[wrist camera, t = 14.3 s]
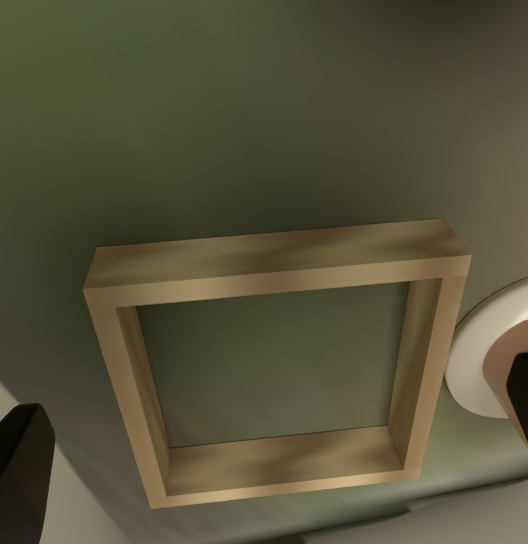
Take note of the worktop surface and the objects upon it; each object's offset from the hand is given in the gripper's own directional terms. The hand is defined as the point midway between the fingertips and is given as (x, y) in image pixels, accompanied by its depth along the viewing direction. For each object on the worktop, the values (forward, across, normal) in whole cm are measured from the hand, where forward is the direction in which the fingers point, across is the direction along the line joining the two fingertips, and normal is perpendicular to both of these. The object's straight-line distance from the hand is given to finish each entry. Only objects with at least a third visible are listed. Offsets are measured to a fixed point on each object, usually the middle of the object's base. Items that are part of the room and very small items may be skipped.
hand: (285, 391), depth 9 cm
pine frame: (+12, -1, +11) cm, 16 cm away
